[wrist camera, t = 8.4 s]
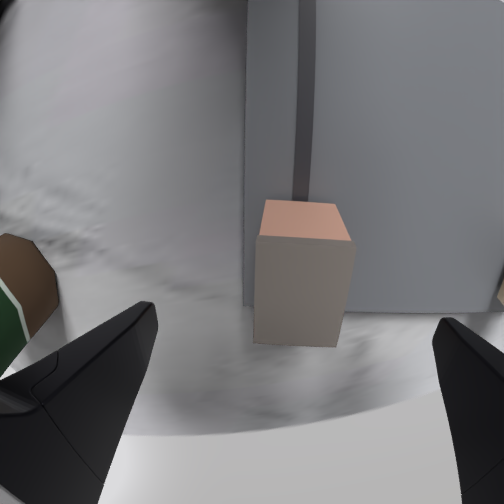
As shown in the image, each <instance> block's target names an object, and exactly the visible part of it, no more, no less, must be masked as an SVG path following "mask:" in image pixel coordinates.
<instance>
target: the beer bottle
mask: <svg viewBox="0 0 504 504" xmlns="http://www.w3.org/2000/svg"><path fill="white" fill-rule="evenodd" d="M58 303H59V300H58V293H57V287H56V280H55V272H54V270H53V269H52V267H51V266H50V265H49V263H48V262H47V261H46V259H45V258H44V257H43V255H42V254H41V253H40V251H39V250H38V248H37V247H36V246H35V244H34V243H33V241H30V240H27V239H24V238H21V237H17V236H14V235H11V234H7V233H4V234H3V235H1V236H0V377H1V376H2V375H3V373H4V372H5V371H6V369H7V368H8V367H9V365H10V364H11V363H12V362H13V360H14V359H15V358H16V357H17V355H18V354H19V353H20V352H21V350H22V349H23V348H24V347H25V345H26V344H27V343H28V342H29V341H30V339H31V338H32V337H33V336H34V335H35V333H36V332H37V331H38V330H39V329H40V327H41V326H42V325H43V324H44V323H45V322H46V320H47V319H48V318H49V317H50V315H51V314H52V313H53V311H54V310H55V309H56V307H57V306H58Z"/></svg>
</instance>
